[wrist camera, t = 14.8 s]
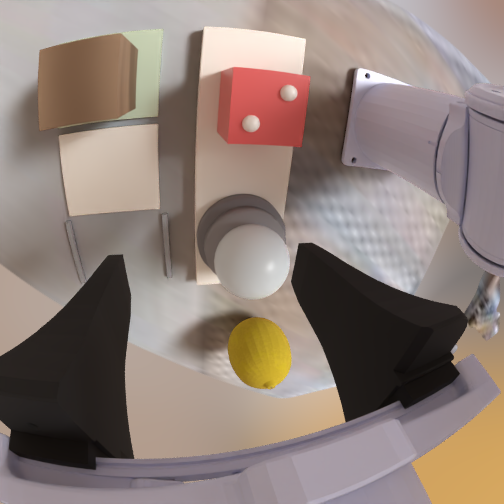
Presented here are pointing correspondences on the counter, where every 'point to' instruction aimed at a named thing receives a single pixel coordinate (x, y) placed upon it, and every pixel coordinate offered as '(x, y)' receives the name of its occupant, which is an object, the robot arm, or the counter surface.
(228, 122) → the die
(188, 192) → the counter surface
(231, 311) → the counter surface
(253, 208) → the dome
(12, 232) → the counter surface
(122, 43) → the brown block
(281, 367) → the lemon
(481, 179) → the robot arm
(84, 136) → the game board
